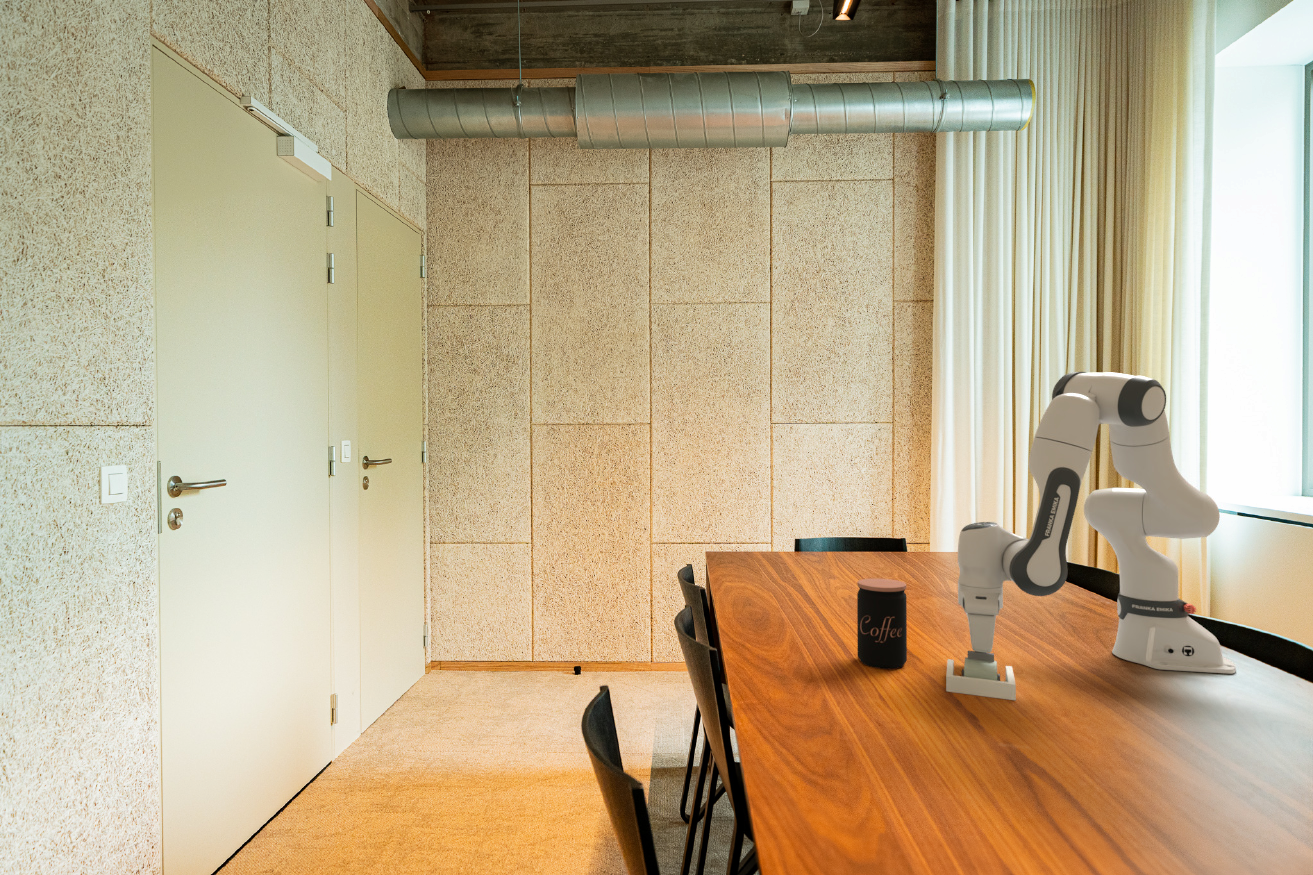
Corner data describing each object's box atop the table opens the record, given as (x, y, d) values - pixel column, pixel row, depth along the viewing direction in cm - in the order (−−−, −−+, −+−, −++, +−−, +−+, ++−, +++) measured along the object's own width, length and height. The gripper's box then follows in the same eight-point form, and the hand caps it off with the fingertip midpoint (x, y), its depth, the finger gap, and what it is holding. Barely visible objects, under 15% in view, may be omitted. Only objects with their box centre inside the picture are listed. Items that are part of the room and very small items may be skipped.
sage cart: (999, 683, 146) (999, 654, 146) (1000, 695, 139) (1000, 665, 139) (962, 678, 149) (962, 649, 149) (960, 690, 142) (960, 660, 142)
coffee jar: (852, 665, 157) (852, 584, 157) (862, 652, 166) (862, 576, 167) (903, 672, 152) (902, 589, 152) (910, 659, 161) (909, 580, 162)
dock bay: (1012, 680, 147) (1012, 666, 147) (1015, 700, 136) (1015, 684, 136) (947, 673, 152) (947, 659, 152) (946, 691, 141) (946, 676, 141)
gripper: (963, 587, 163) (964, 646, 163) (964, 606, 144) (965, 674, 144) (993, 589, 160) (994, 649, 160) (999, 609, 142) (999, 678, 142)
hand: (980, 661), depth 152 cm, fingers closed
